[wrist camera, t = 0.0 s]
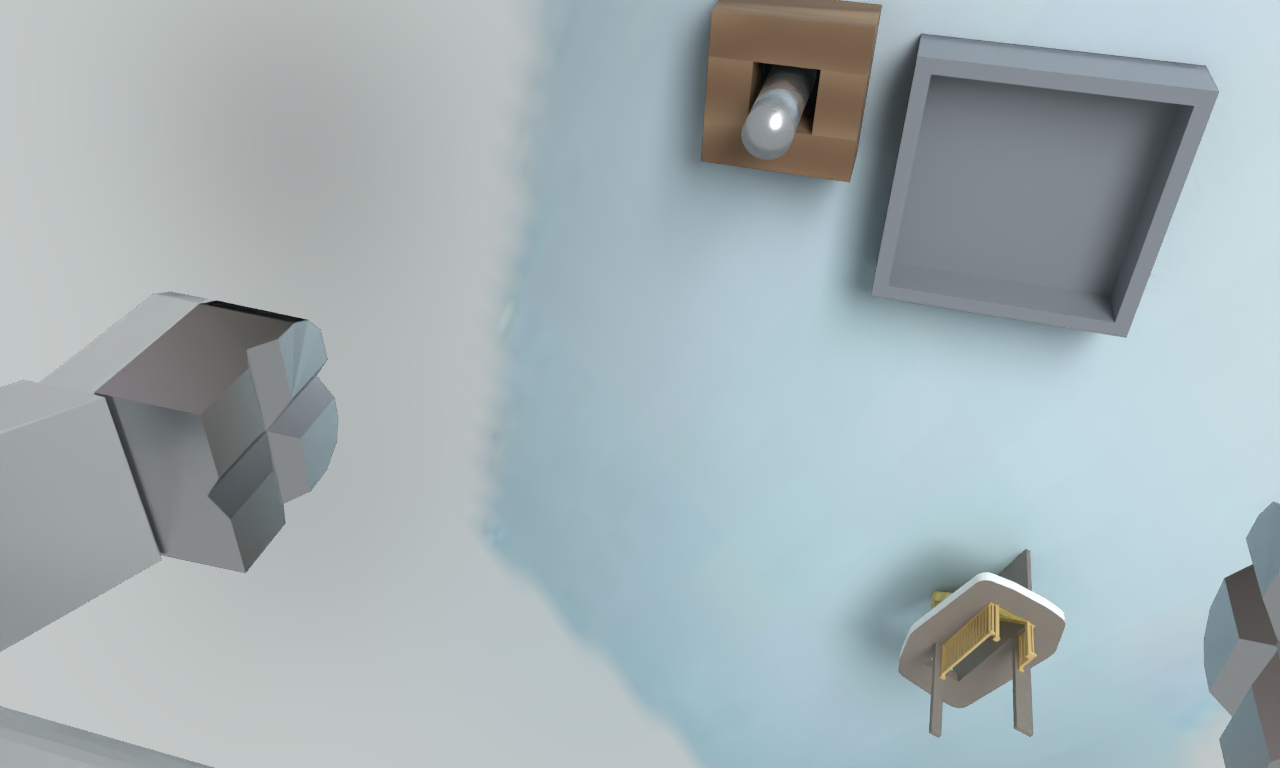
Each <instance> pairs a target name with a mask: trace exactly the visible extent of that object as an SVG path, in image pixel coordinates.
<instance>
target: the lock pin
mask: <svg viewBox="0 0 1280 768" xmlns="http://www.w3.org/2000/svg"><path fill="white" fill-rule="evenodd" d="M816 76H817V69H809V68H801V67H793V66H785V65H776V64H774V65H773V67H772V69H771V71H770V73H769V75H768V77H767V79H766V81H765V83H764V85H763V87H762V89H761V91H760V93H759V95H758V97H757V99H756V101H755V103H754V105H753V107H752V109H751V111H750V113H749V115H748V117H747V119H746V121H745V123H744V125H743V128H742V133H741V136H742V142H743V144H744V146H745V148H746V149H747V151H748V152H749V153H750V154H752V155H753V156H755V157H757V158H759V159H764V160H771V159H776V158H778V157H780V156H782V155H783V154H784V153H785V152H786V151H787V150H788V149H789V147H790V145H791V142H792V139H793V137H794V134H795V132H796V129H797V126H798V124H799V121H800V119H801V116H802V113H803V111H804V108H805V106H806V103H807V100H808V98H809V95H810V93H811V90H812V88H813V85H814V82H815V80H816Z"/></svg>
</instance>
